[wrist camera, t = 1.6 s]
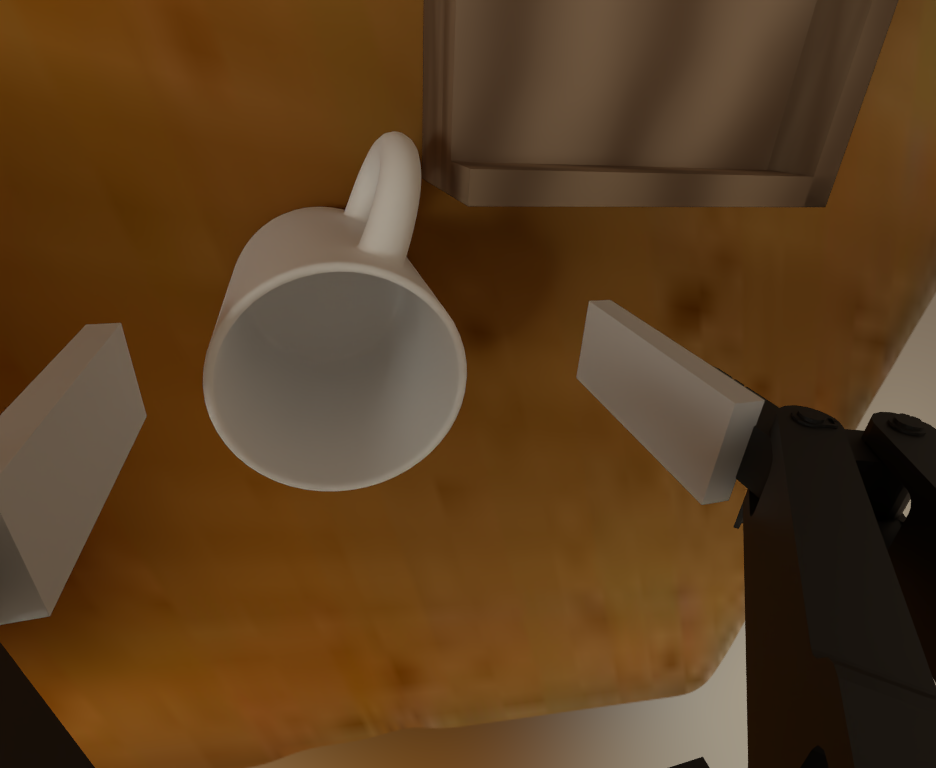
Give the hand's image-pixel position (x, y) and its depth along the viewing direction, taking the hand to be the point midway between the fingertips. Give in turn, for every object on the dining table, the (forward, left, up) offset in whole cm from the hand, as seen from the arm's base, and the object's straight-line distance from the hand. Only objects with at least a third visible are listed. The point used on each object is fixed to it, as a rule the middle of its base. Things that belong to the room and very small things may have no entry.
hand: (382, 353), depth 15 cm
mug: (0, 0, -12) cm, 12 cm away
